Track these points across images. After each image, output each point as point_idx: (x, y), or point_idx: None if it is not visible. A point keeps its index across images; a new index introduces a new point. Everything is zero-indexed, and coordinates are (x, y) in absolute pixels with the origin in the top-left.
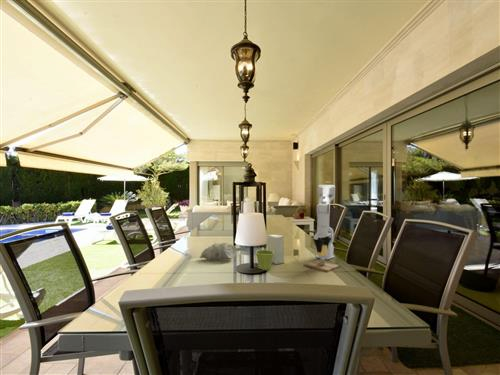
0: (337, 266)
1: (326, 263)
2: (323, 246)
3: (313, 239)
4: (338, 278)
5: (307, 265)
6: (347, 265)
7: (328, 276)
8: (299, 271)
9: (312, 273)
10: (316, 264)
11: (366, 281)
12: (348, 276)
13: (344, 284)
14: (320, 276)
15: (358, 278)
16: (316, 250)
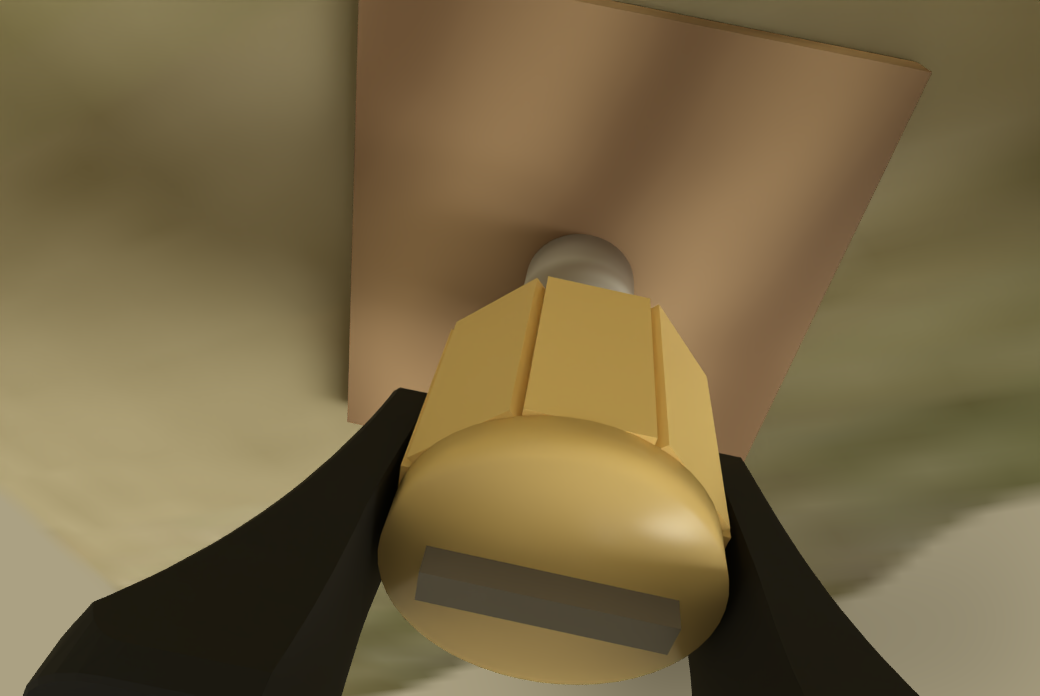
0: None
1: (724, 326)
2: (428, 634)
3: (56, 646)
4: (232, 530)
5: (358, 63)
6: (892, 539)
7: (201, 446)
8: (8, 48)
9: (123, 262)
10: (528, 202)
11: (361, 691)
12: (382, 588)
13: (122, 585)
14: (114, 378)
15: (393, 650)
16: (476, 360)
